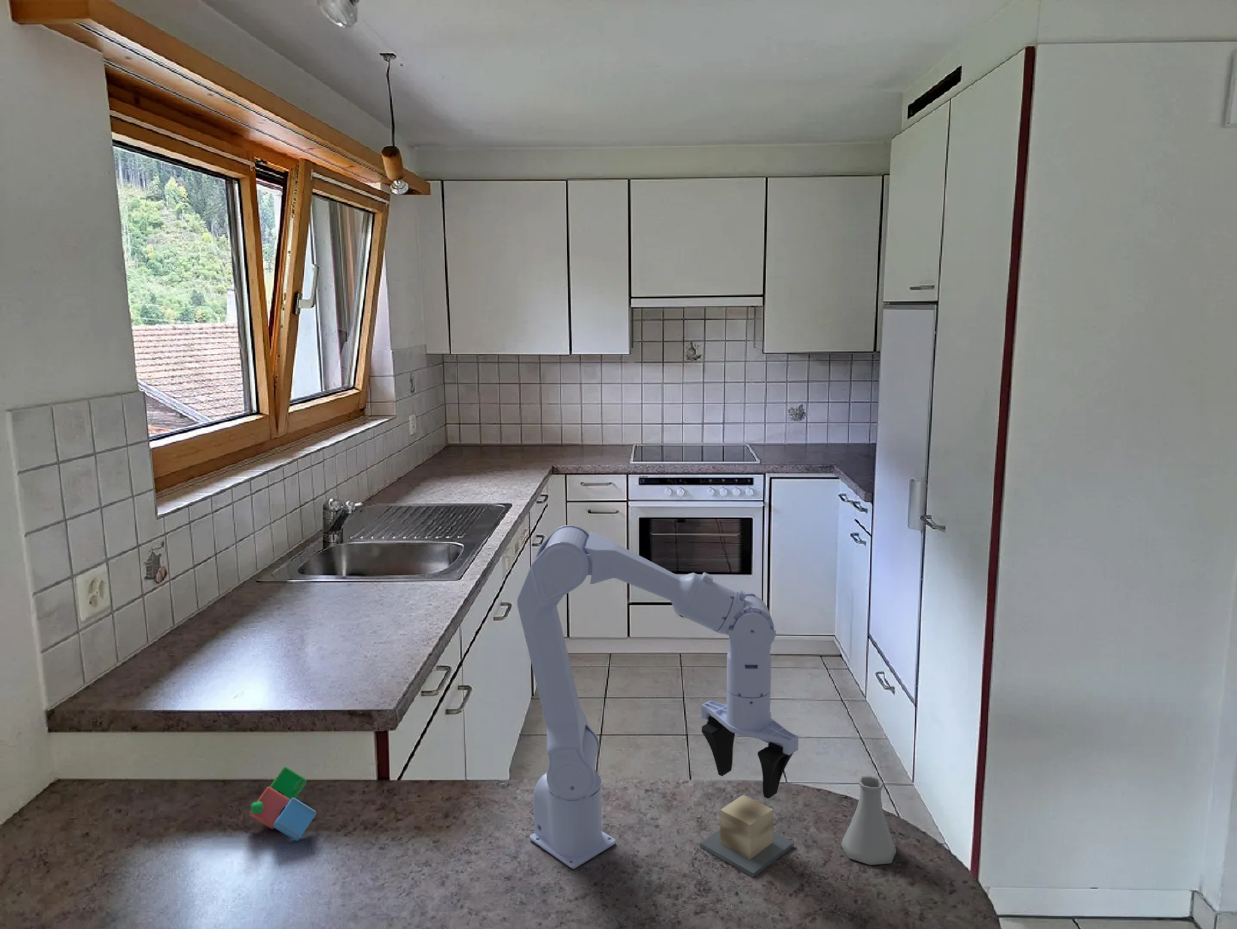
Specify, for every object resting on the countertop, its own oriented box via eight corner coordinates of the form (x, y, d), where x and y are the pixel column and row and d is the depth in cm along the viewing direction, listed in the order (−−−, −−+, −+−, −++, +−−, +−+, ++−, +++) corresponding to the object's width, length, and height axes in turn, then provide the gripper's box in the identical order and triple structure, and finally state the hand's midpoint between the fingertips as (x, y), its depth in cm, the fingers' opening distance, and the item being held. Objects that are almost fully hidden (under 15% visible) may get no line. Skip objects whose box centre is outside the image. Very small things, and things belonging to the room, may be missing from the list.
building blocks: (294, 846, 123) (298, 839, 114) (246, 817, 123) (247, 807, 113) (327, 797, 128) (334, 786, 118) (281, 768, 127) (285, 755, 118)
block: (720, 843, 114) (720, 809, 113) (742, 827, 117) (743, 794, 116) (750, 859, 110) (750, 825, 109) (772, 843, 114) (772, 809, 113)
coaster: (700, 847, 114) (700, 843, 114) (740, 819, 120) (740, 815, 120) (753, 877, 108) (753, 873, 107) (793, 846, 114) (793, 842, 114)
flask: (899, 870, 109) (902, 799, 107) (841, 863, 110) (844, 793, 108) (893, 836, 116) (896, 770, 114) (839, 831, 117) (841, 765, 115)
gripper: (813, 696, 107) (810, 793, 110) (724, 663, 118) (723, 753, 120) (780, 714, 103) (778, 815, 105) (691, 679, 113) (691, 771, 115)
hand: (747, 783), depth 112 cm, fingers open, 7 cm apart
